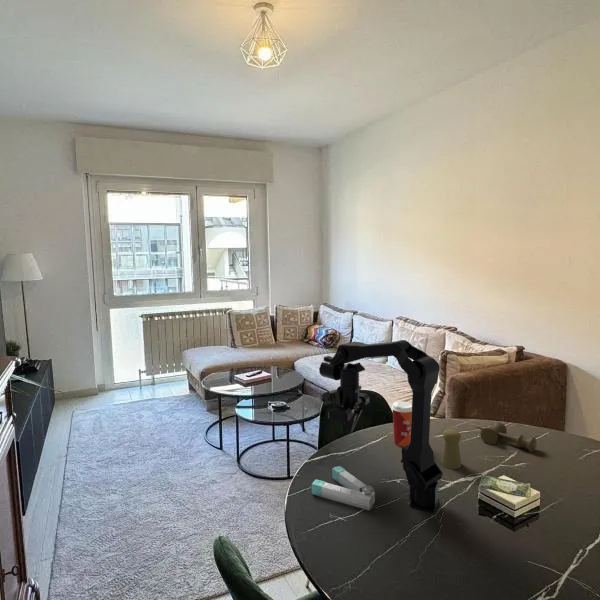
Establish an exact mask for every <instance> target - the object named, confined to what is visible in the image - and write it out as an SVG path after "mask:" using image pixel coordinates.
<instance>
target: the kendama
mask: <svg viewBox="0 0 600 600" xmlns="http://www.w3.org/2000/svg"><path fill="white" fill-rule="evenodd" d="M476 429H478V430H480V433H479V434H480V438H481V441H482V442H483V443H485V444H488V445H495V444H496V443H497V442H498V439H499V438H502V439H504V440H507V441H509V442H511V443H513V444H515V445H516V446H517V447H518V448H523V449H526V450H527V451H529V453H534V451H536V448H537V437H535V436H534V437H526V436H525V435H523V434H518V435H516V434H509V433H507V430H508V429H507V427H506V425H505V424H504V423H502V422H500V421H494V422H492V424H491V427H488V426H485V427H481V426H476Z"/></svg>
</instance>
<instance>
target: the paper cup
mask: <svg viewBox="0 0 600 600" xmlns="http://www.w3.org/2000/svg"><path fill="white" fill-rule="evenodd" d="M391 409H392V422H393V425H392V426H393V439H394V440H393V441H394V442H393V443H394V445H396V446H398V447H405V446H407V445H409V444H410V438H411V416H412V402H411V403H410V402H407V401H395V402H394V403H392V406H391Z"/></svg>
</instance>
